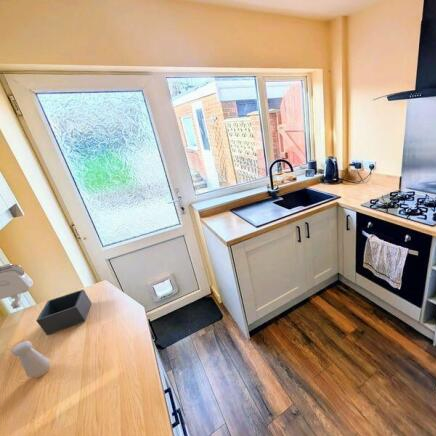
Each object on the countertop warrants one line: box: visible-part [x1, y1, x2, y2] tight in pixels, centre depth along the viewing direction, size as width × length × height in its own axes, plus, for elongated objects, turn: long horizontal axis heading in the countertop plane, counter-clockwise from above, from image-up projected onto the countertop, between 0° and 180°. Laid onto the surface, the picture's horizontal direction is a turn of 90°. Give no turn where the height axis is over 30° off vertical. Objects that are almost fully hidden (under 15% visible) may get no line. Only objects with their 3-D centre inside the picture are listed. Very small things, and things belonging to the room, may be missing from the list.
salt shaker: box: [11, 340, 51, 379], centre depth 79 cm, size 6×6×13 cm
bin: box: [36, 289, 92, 336], centre depth 103 cm, size 13×13×8 cm
